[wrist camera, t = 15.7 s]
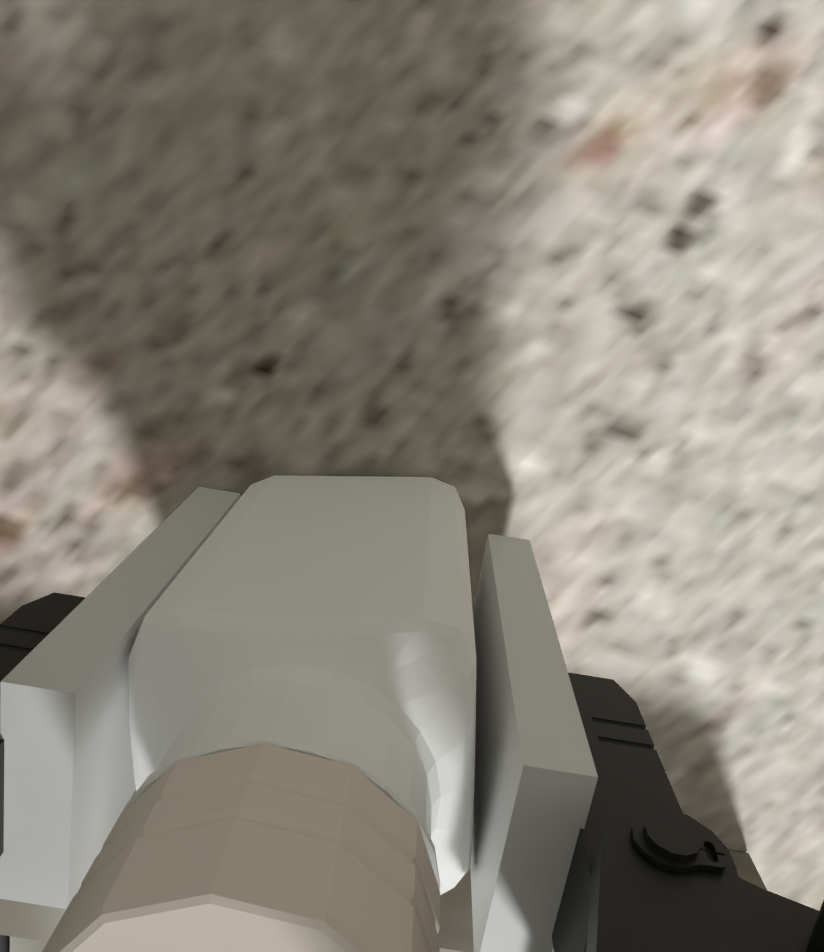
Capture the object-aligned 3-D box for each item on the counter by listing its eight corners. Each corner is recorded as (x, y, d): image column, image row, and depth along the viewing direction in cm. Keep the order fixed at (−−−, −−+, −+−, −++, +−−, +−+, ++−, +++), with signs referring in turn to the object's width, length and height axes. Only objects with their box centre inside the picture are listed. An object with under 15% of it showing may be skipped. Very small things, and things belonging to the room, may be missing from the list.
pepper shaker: (464, 468, 14) (500, 855, 5) (460, 662, 15) (484, 1259, 6) (248, 466, 14) (-83, 839, 5) (260, 658, 16) (4, 1236, 7)
